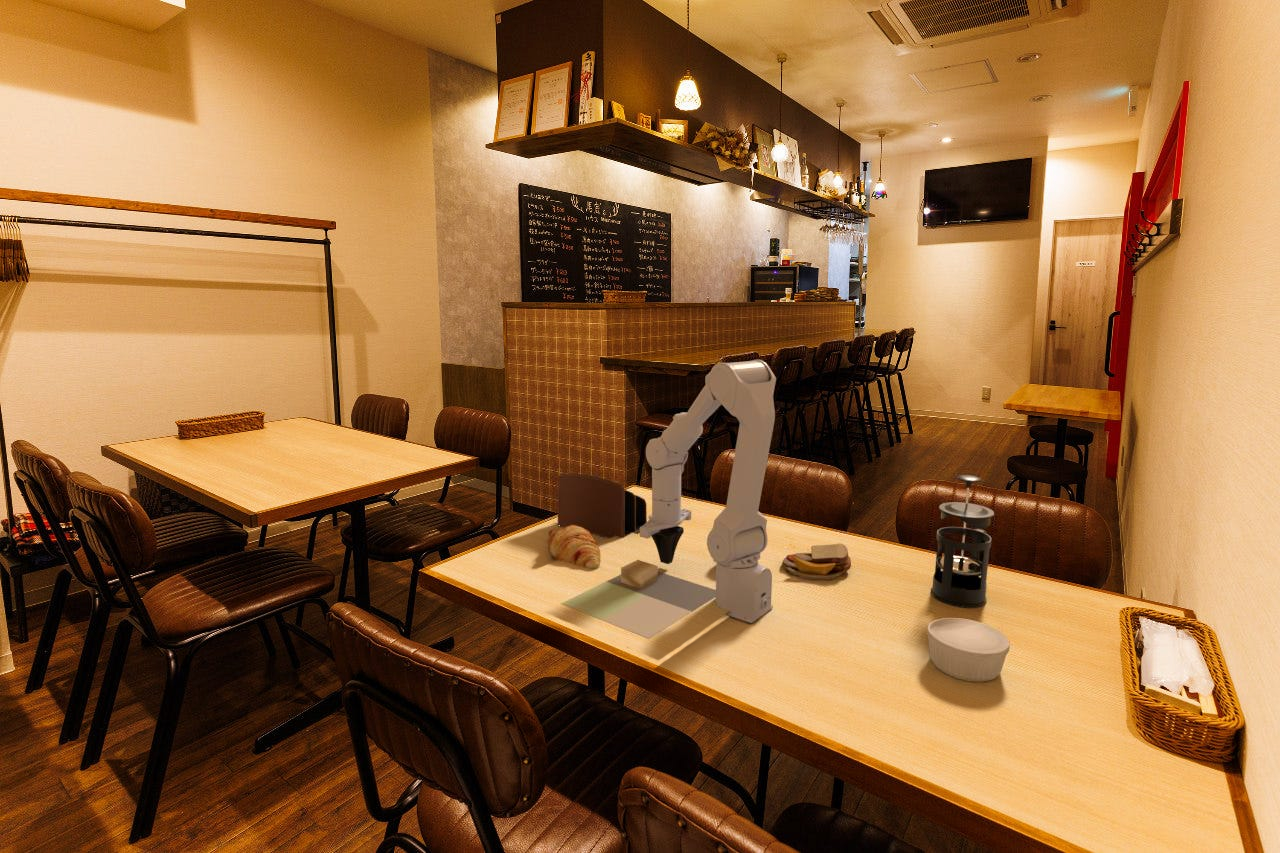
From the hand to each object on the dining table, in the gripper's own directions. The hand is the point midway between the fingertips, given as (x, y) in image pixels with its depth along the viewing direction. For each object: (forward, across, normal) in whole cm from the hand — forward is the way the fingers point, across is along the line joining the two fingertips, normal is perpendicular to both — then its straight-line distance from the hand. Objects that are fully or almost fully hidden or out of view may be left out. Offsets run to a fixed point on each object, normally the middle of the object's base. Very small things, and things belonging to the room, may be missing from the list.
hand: (666, 562), depth 135 cm
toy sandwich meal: (+3, -21, +23) cm, 31 cm away
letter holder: (+3, -12, -28) cm, 31 cm away
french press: (+2, -26, +49) cm, 55 cm away
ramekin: (+3, 0, +56) cm, 56 cm away
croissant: (+3, +6, -21) cm, 22 cm away
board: (+2, +14, +5) cm, 15 cm away
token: (+1, +8, 0) cm, 9 cm away
